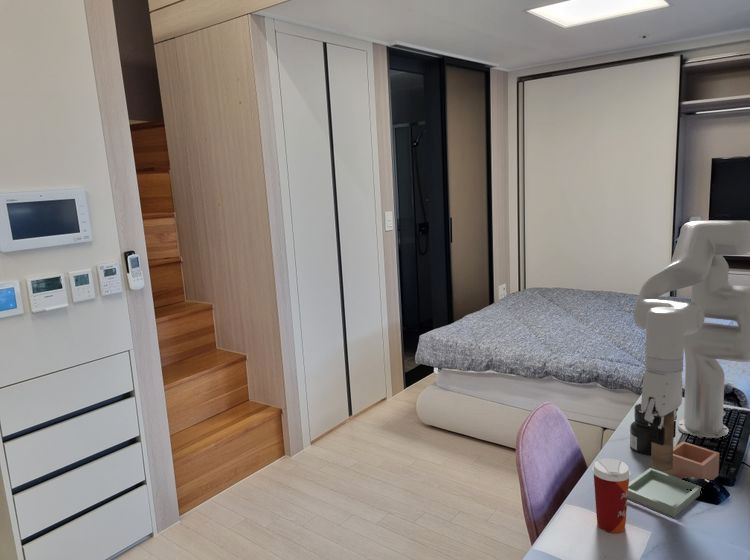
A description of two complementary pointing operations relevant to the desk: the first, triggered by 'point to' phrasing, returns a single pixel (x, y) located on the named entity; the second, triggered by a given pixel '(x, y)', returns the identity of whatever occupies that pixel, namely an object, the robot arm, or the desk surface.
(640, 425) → the ink bottle
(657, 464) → the walnut peg
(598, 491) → the paper cup
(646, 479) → the sage tray
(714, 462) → the terracotta box
